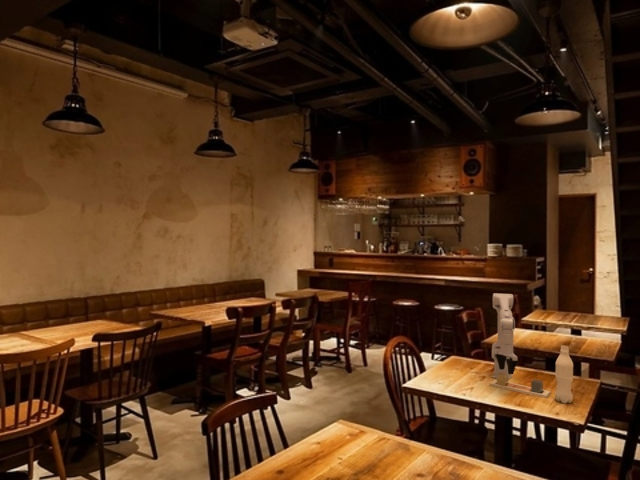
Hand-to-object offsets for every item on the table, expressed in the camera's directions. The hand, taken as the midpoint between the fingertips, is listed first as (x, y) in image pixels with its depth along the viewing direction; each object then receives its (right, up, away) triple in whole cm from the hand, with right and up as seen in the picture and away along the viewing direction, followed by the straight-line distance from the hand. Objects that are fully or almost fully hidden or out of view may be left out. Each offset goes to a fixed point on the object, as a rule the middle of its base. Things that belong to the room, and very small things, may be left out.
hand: (506, 371), depth 218 cm
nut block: (+14, -10, -1) cm, 17 cm away
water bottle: (+21, -10, -11) cm, 26 cm away
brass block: (+2, -10, +9) cm, 13 cm away
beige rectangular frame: (+8, -10, +4) cm, 13 cm away
